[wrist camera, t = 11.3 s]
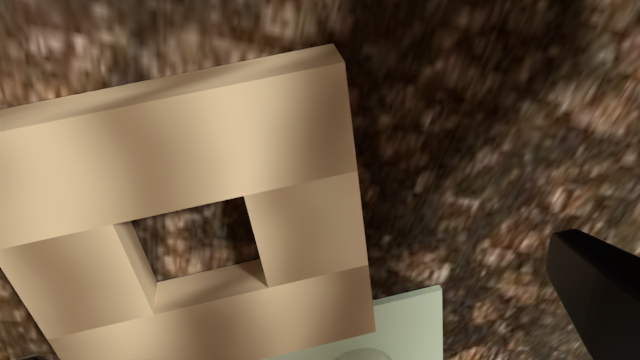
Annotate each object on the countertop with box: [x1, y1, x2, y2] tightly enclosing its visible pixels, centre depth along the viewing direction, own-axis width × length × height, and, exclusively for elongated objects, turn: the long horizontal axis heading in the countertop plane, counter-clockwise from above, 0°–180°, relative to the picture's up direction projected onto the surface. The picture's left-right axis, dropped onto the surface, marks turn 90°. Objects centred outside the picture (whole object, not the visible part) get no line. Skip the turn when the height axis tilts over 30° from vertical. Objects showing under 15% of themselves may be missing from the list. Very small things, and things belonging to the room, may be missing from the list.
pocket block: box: [0, 44, 376, 360], centre depth 22 cm, size 14×14×2 cm
